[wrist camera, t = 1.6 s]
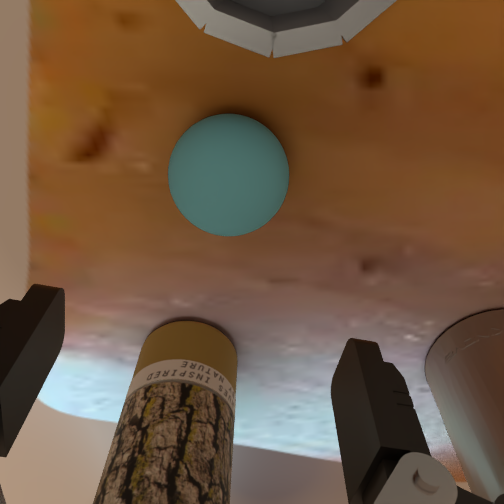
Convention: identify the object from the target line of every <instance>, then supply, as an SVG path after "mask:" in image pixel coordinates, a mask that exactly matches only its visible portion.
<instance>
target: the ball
mask: <svg viewBox="0 0 504 504" xmlns="http://www.w3.org/2000/svg"><path fill="white" fill-rule="evenodd" d="M168 180H169V188H170V192H171V195H172V197H173V200H174V202H175V204H176V206H177V208H178V209H179V210H180V212H181V213H182V214H183V215H184V217H185V218H186V219H187V220H189V221H190V222H191V223H192V224H193V225H195V226H196V227H198V228H200V229H202V230H203V231H206V232H208V233H211V234H215V235H220V236H239V235H243V234H247V233H250V232H252V231H254V230H257V229H259V228H260V227H262V226H263V225H265V224H266V223H267V222H268V221H270V220H271V218H272V217H273V216H274V215H275V214H276V213H277V211H278V210H279V209H280V207H281V205H282V203H283V201H284V199H285V196H286V193H287V190H288V185H289V166H288V161H287V157H286V155H285V152H284V149H283V147H282V146H281V144H280V142H279V141H278V139H277V138H276V137H275V135H274V134H273V133H272V132H271V131H270V130H269V129H268V128H266V127H265V126H264V125H263V124H261V123H259V122H258V121H256V120H254V119H252V118H249V117H246V116H243V115H238V114H218V115H214V116H210V117H207V118H205V119H203V120H201V121H199V122H197V123H195V124H194V125H193V126H191V127H190V128H189V129H188V130H187V131H186V132H185V133H184V134H183V135H182V136H181V138H180V139H179V140H178V142H177V143H176V145H175V147H174V149H173V152H172V154H171V157H170V162H169V167H168Z"/></svg>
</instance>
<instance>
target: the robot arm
mask: <svg viewBox="0 0 504 504" xmlns="http://www.w3.org/2000/svg"><path fill="white" fill-rule="evenodd" d="M64 333H65V293H64V289H63V288H57V287H51V286H46V285H40V284H33V285H32V286H31V287H30V289H29V290H28V292H27V293H26V295H25V296H24V297H23V299H22V300H21V301H19V300H12V299H8V300H7V301H5V302H4V303H2V304H0V457H7V454H8V453H9V451H10V448H11V447H12V445H13V443H14V441H15V439H16V437H17V435H18V433H19V431H20V429H21V427H22V425H23V423H24V421H25V419H26V417H27V415H28V413H29V411H30V409H31V408H32V406H33V403H34V402H35V400H36V398H37V396H38V394H39V392H40V390H41V388H42V386H43V384H44V382H45V380H46V378H47V376H48V374H49V372H50V370H51V368H52V367H53V365H54V363H55V361H56V359H57V357H58V355H59V353H60V350H61V347H62V344H63V340H64ZM425 374H426V379H427V382H428V384H429V387H430V389H431V392H432V394H433V397H434V399H435V402H436V404H437V407H438V409H439V412H440V414H441V417H442V419H443V422H444V425H445V427H446V430H447V432H448V435H449V437H450V440H451V442H452V445H453V447H454V450H455V452H456V455H457V457H458V460H459V462H460V465H461V467H462V470H463V472H464V475H465V477H466V480H467V482H468V485H469V487H470V490H471V492H472V493H470V492H468V491H466V490H464V489H462V488H460V487H458V486H457V485H456V483H455V480H454V478H453V476H452V475H451V473H450V472H449V471H448V470H447V468H446V467H445V466H444V465H442V464H441V463H440V462H439V461H437V460H436V459H434V458H433V457H431V454H430V451H429V448H428V445H427V443H426V440H425V437H424V434H423V431H422V428H421V425H420V422H419V420H418V417H417V414H416V411H415V409H413V407H414V405H413V402H412V399H411V396H409V391H408V388H407V385H406V382H405V379H404V377H403V376H402V375H401V373H400V372H399V371H398V370H397V368H396V367H395V366H394V365H393V363H389V362H384V361H383V358H382V355H381V352H380V348H379V346H378V344H377V343H376V342H372V341H367V340H361V339H355V338H350V339H349V340H348V341H347V343H346V346H345V348H344V351H343V353H342V356H341V358H340V360H339V363H338V365H337V368H336V370H335V373H334V375H333V379H332V384H331V399H332V405H333V411H334V417H335V423H336V429H337V435H338V442H339V448H340V454H341V460H342V466H343V472H344V478H345V484H346V490H347V496H348V502H349V504H504V309H502V310H494V311H488V312H484V313H481V314H477V315H474V316H472V317H469V318H467V319H465V320H463V321H461V322H459V323H457V324H456V325H454V326H453V327H451V328H450V329H448V330H447V331H446V332H445V333H444V334H443V335H442V336H441V337H439V338H438V339H437V341H436V342H435V344H434V345H433V346H432V348H431V349H430V351H429V354H428V356H427V358H426V364H425ZM0 504H6V502H5V499H4V495H3V492H2V489H1V485H0Z"/></svg>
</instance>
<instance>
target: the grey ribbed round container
mask: <svg viewBox="0 0 504 504" xmlns="http://www.w3.org/2000/svg"><path fill="white" fill-rule="evenodd" d="M395 1H396V0H176V2H177V3H178V4H179V5H180V6H181V8H182V9H183V10H184V11H185V12H186V14H187V15H188V16H189V17H190V18H191V20H192V21H193V22H194V23H195V24H196V26H197V27H198V28H199V29H201V28H202V27H203V26H204V25H205V24H206V27H205V30H204V33H206V34H209V35H211V36H214V37H217V38H219V39H222V40H225V41H227V42H230V43H232V44H235V45H238V46H240V47H243V48H245V49H248V50H251V51H253V52H256V53H259V54H261V55H264V56H266V57H270V54H271V51H272V49H273V55H274V58H276V57H282V56H287V55H292V54H297V53H302V52H307V51H312V50H318V49H323V48H328V47H333V46H338V45H342V38H343V39H344V40H345V41H346V42H348V41H349V40H350V39H352V38H353V37H354V36H355V35H356V34H357V33H359V32H360V31H361V30H362V29H363V28H365V27H366V26H367V25H368V24H369V23H370V22H372V21H373V20H374V19H375V18H376V17H378V16H379V15H380V14H381V13H382V12H383V11H385V10H386V9H387V8H388V7H389V6H390V5H392V4H393V3H394V2H395Z"/></svg>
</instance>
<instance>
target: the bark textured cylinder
mask: <svg viewBox="0 0 504 504" xmlns="http://www.w3.org/2000/svg"><path fill="white" fill-rule="evenodd" d="M236 378H237V355H236V351H235V348H234V346H233V345H232V343H231V342H230V340H229V339H228V338H227V337H226V336H225V335H224V334H223V333H221V332H220V331H219V330H217V329H216V328H214V327H212V326H210V325H207V324H204V323H201V322H196V321H177V322H172V323H169V324H166V325H164V326H162V327H160V328H158V329H156V330H155V331H154V332H152V333H151V334H150V335H149V336H148V338H147V339H146V341H145V342H144V344H143V346H142V349H141V352H140V355H139V359H138V362H137V365H136V368H135V372H134V375H133V378H132V381H131V384H130V386H129V390H128V393H127V396H126V399H125V402H124V406H123V409H122V412H121V415H120V418H119V422H118V425H117V428H116V431H115V435H114V438H113V441H112V445H111V448H110V451H109V454H108V457H107V460H106V463H105V467H104V470H103V473H102V477H101V480H100V483H99V486H98V489H97V492H96V496H95V499H94V502H93V504H230V489H231V471H232V454H233V437H234V420H235V402H236V399H235V395H236Z"/></svg>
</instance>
